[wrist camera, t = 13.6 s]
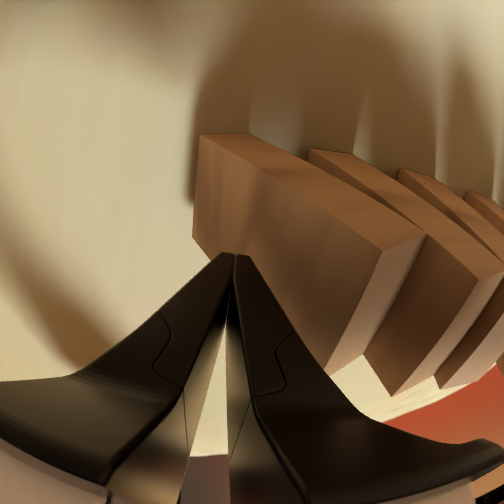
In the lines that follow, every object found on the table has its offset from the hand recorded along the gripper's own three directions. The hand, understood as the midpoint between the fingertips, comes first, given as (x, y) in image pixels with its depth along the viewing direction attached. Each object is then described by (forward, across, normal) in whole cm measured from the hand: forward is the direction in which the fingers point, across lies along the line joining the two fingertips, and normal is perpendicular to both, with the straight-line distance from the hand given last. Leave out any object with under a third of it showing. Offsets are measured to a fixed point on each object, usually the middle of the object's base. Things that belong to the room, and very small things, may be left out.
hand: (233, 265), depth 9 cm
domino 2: (+6, -4, 0) cm, 7 cm away
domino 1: (+6, +1, 0) cm, 6 cm away
